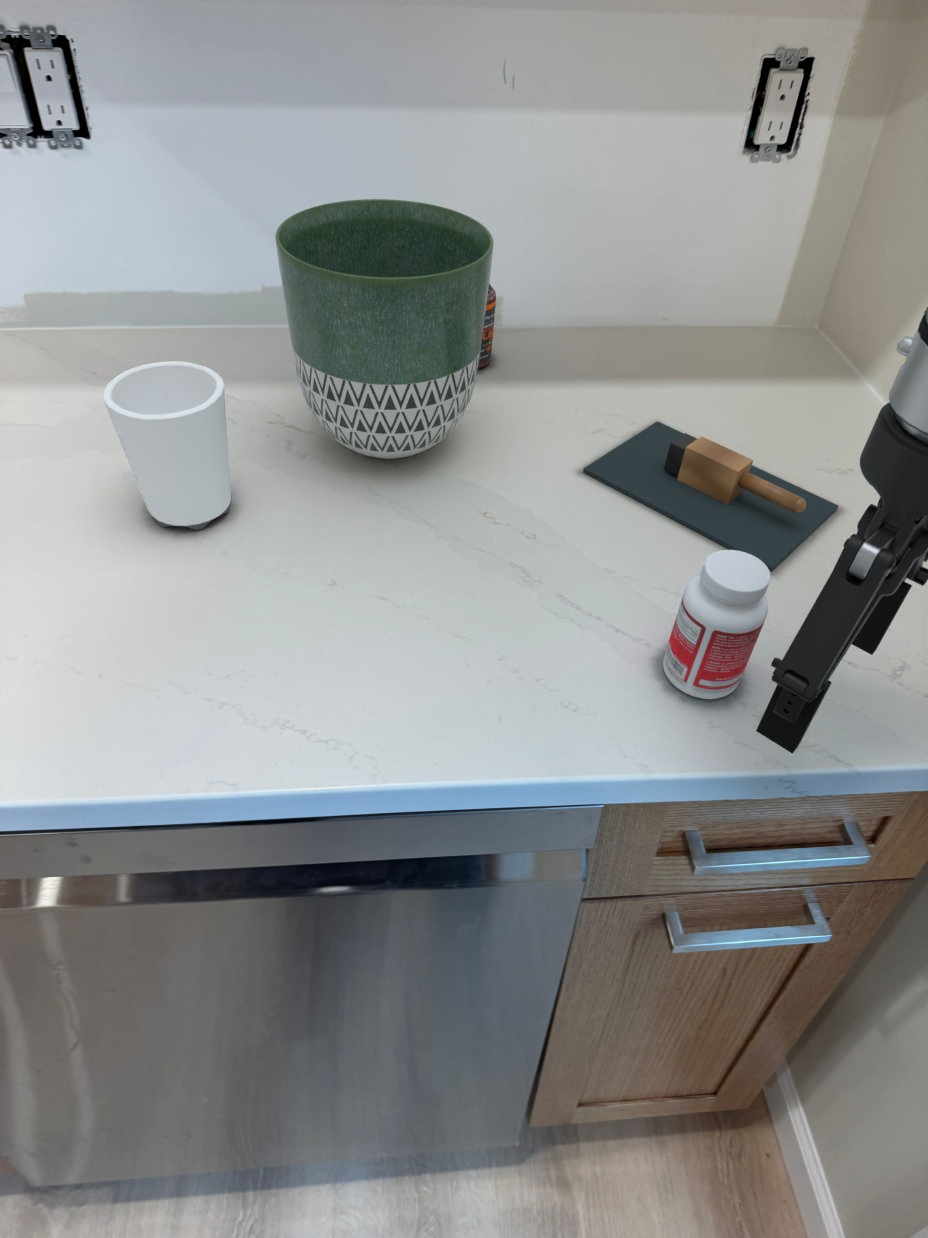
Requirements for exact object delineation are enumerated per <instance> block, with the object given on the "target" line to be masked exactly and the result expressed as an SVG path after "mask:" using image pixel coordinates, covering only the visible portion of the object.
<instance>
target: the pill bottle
mask: <svg viewBox="0 0 928 1238" xmlns="http://www.w3.org/2000/svg"><path fill="white" fill-rule="evenodd" d="M771 578H772V577H771V571H770V570H769V569H768V567H767V566H766V565H765V564H764V563H763V562H762V561H761V560H760V559H758V558H757V557H755V556H753V555H751V554H748V553H745V552H742V551H737V550H730V549H721V550H717V551H715V552H713V553H710V554H709V555H708V556H707V558H706V559H705V561H704V563H703V566H702V569H701V571H700V573H699V574H698V575H696V576H694V577H693V578H692V579H691V580H690V581H689V582H688V583H687V585H686V586H685V589H684V591H683V594H682V597H681V601H680V603H679V607H678V609H677V614H676V616H675V619H674V622H673V626H672V628H671V633H670V637H669V639H668V642H667V645H666V648H665V649H666V650H665V652H664V656H663V661H662V663H663V665H662V666H663V671H664V674H665V676H666V677H667V679H668V680H669V681H670V683H671V684H672V685H673V686H674V687H676V689H678V690H680V691H681V692H683V693H684V694H686V695H689V696H691V697H694V698H699V699H703V700H717V699H720V698H723V697H726V696H728V695H731V693H733V692H734V691H735V690H736V689H737V687H738V686H739V684H740V682H741V680H742V678H743V675H744V673H745V670H746V668H747V665H748V663H749V660H750V658H751V656H752V653H753V650H754V648H755V646H756V644H757V642H758V639H759V636H760V634H761V631H762V629H763V627H764V624H765V622H766V619H767V616H768V614H769V602H768V600H767V596H766V593H767V591H768V588H769V584H770V582H771Z"/></svg>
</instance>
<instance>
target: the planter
mask: <svg viewBox="0 0 928 1238" xmlns="http://www.w3.org/2000/svg"><path fill="white" fill-rule="evenodd" d="M274 237H275V238H274V239H275V247H276V254H277V255H276V256H277V261H278V262H277V263H278V270H279V274H280V280H281V286H282V291H283V292H282V293H283V298H284V304H285V311H286V318H287V324H288V325H287V326H288V330H289V337H290V342H291V348H292V349H291V350H292V354H293V361H294V366H295V371H296V376H297V380H298V383H299V386H300V390H301V392H302V395H303V398H304V401H305V402H306V405H307V407H308V409H309V411H310V413H311V415H312V416H313V418H314V420H315V421H316V422H317V424H319V426H320V427H321V429H323V430H324V431H325V433H326V434H328V435H329V436H330V438H332V439H334V440H335V441H336V442H338V443H339V444H341V445H342V446H343V447H345V448H347V449H349V450H351V451H354V452H355V453H358V454H361V455H364V456H365V457H366V456H367V457H370V458H375V459H376V458H377V459H385V460H386V459H388V460H389V459H392V460H394V459H402V458H407V457H411V456H414V455H417V454H420V453H423V452H424V451H427V450H429V449H430V448H433V447H434V446H436V445H437V444H438V443H440V442H442V440H444V439H445V438H446V437H447V436H448V435H450V433H451V432H452V431H453V430H454V429H455V428H456V427H457V426H458V424H459V423H460V421H461V420H462V419H463V416H464V415H465V413H466V411H467V409H468V406H469V404H470V401H471V400H472V397H473V396H472V395H473V393H474V390H475V386H476V382H477V377H478V372H479V369H478V365H479V358H480V350H481V343H482V336H483V329H484V320H485V311H486V303H487V295H488V288H489V284H490V282H489V281H491V272H492V265H493V256H494V255H493V254H494V238H493V235H492V233H491V232H490V230H489V229H487V227H486V226H485V225H484V224H483V223H481V222H480V221H478V220H476V219H475V218H473V217H471V216H469V215H467V214H464V213H462V212H459V211H458V210H457V211H456V210H454V209H450V208H447V207H444V206H440V205H436V204H431V203H425V202H419V201H413V200H404V199H390V198H389V199H388V198H387V199H386V198H385V199H383V198H368V199H367V198H366V199H351V200H342V201H335V202H329V203H324V204H320V205H316V206H313V207H310V208H306V209H304V210H301V211H298V212H297V213H295V214H292V215H291V216H289V217H288V218H286V219H285V220H284V221H282V222H281V224H280V225H278V227H277V229H276V232H275V236H274Z"/></svg>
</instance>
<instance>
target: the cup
mask: <svg viewBox="0 0 928 1238" xmlns="http://www.w3.org/2000/svg"><path fill="white" fill-rule="evenodd" d="M102 395H103V396H102V401H103V403H104V406H105V409H106V410H107V413H108V416H109V419H110V420H111V423H112V425H113V427H114V430H115V432H116V435H117V437H118V440H119V442H120V446H121V448H122V449H123V452H124V455H125V457H126V460H127V462H128V465H129V467H130V470H131V472H132V474H133V478H134V480H135V482H136V484H137V486H138V490H139V492H140V494H141V497H142V499H143V502H144V504H145V507H146V509H147V511H148V512H149V514H150V515H151V517H153V519H154V520H155V521H156V523H158V524H159V525H160V526H161V527H163V528H169V527H173V526H175V527H184V528H189V529H192V530H195V531H198V530H202V529H205V527H206V526H207V525H209V523H210V522H213V520H214V519H217V518H218V517H219V516H224V515H226V514H228V512H229V510H230V507H231V502H232V501H231V500H232V489H231V472H230V459H229V443H228V428H227V411H226V397H225V396H226V395H225V383H224V379H223V377H221V375H220V374H219V373H217V372H216V371H214V370H213V369H211V368H209V367H207V366H204V365H202V364H201V365H200V364H197V363H194V362H190V361H189V362H188V361H184V360H183V361H181V360H180V361H178V360H174V361H172V360H171V361H169V360H168V361H159V362H157V361H156V362H152V363H147V364H146V363H145V364H142V365H138V366H135V367H132V368H129V369H126V370H125V371H123V372H121V373H120V374H118V375H117V376H115V377H114V378H113V379H111V380H110V381H109V382H108V383H107V384H106V386H105V388H104V390H103V394H102Z"/></svg>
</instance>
